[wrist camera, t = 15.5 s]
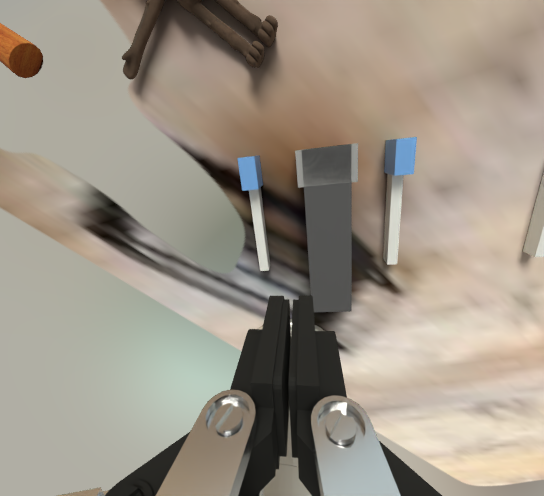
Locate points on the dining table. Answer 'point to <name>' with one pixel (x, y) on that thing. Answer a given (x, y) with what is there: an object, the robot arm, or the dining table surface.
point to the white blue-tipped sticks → (397, 163)
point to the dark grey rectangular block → (328, 221)
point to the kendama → (19, 54)
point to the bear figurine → (193, 4)
